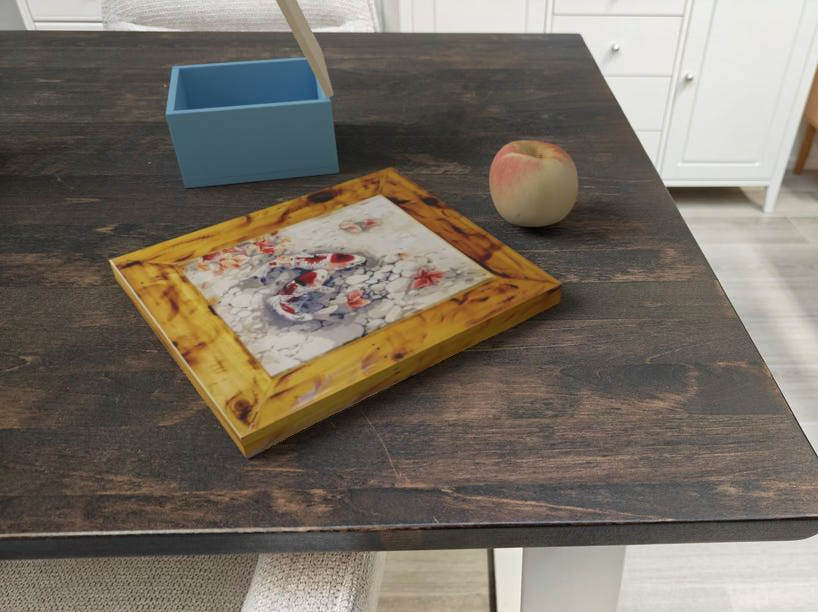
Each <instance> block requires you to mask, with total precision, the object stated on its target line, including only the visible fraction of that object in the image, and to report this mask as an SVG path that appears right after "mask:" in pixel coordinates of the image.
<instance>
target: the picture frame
mask: <svg viewBox="0 0 818 612" xmlns="http://www.w3.org/2000/svg"><path fill="white" fill-rule="evenodd" d="M108 261H109V263H110V267H111V269H112V272H113V275H114V277H115V280H116V282H117V283H118V284H119V286H120V287H121V289H123V291H124V292H125V295H126V296H127V297H128V298H129V299H130V301H131V302H132V304H133V305H134V306H135V308H136V309H137V311H138V312H139V314H141V316H142V318H143V319H144V320H145V322H146V323H147V324H148V326H149V327H150V328H151V330H152V331H153V333H154V334H155V336H157V338H158V339H159V341H160V342H161V344H162V345H163V346H164V347H165V349H166V350H167V352H168V351H169V352H168V353H169V355H170V356H171V357H172V358H173V360H174V361H175V363H176V362H177V363H176V365H178V367H179V366H180V367H179V368H180V370H181V371H182V370H183V371H182V373H183V374H184V375H185V374H186V375H185V376H186V377H188V378H187V379H188V380H189V382H190V381H191V382H190V384H191V385H192V386H193V387H194V389H195V388H196V389H195V390H196V392H197V393H198V394H199V395H200V397H201V398H202V399H203V401H204V402H205V404H206V405H207V406H208V408H209V410H210V411H211V413H213V415H214V417H216V419H217V420H218V422H219V421H220V422H219V423H220V424H221V426H222V427H223V429H224V430H225V431H226V433H227V434H228V435H229V437H230V438H231V440H232V441H233V443H236V444H235V445H236V447H237V448H238V450H240V452H241V453H242V455H243V456H244V458H245V459H246V460H248V459H250V458H252V457H254V456H256V455H259V454H260V453H262V452H264V451H266V450H268V449H270V448H272V447H273V446H272V445H274V446H276V445H278V444H280V443H282V442H284V441H286V440H287V439H286V438H288V437H290V436H292V435H293V434H295V433H297V432H299V431H300V430H303V429H304V428H308V427H309V426H310V425H313V424H314V423H316V422H319V421H320V420H321V419H324V418H327V417H328V416H330V415H332V414H333V413H336V412H339V411H340V410H341V409H344V408H345V407H348V406H349V405H352V404H354V403H356V402H358V401H360V400H362V399H363V398H366V397H368V396H370V395H372V394H374V393H376V392H379V391H380V390H382V389H384V388H386V387H388V386H391V385H393V384H394V383H397V382H399V381H402V380H403V379H405V378H407V377H410V376H412V375H413V374H415V373H418V372H420V371H422V370H425V369H426V368H428V367H430V366H432V365H433V364H437V363H439V362H441V361H442V360H444V359H446V358H448V357H451V356H453V355H455V354H457V353H459V352H461V351H463V350H465V349H467V348H469V347H471V346H473V345H475V344H477V343H479V342H481V341H483V340H485V341H487V340H489V339H491V338H493V337H495V336H497V335H499V334H501V333H503V332H505V331H508V330H509V329H511V328H513V327H515V326H517V325H519V324H522V323H523V322H525V321H527V320H529V319H531V318H533V317H535V316H537V315H539V314H541V313H543V312H545V311H547V310H549V309H551V308H553V307H555V306H557V305H559V304H560V303H561V296H562V288H563V283H562V282H560V281H559V280H558V279H556V278H555V277H553V276H552V275H550V274H549V273H548V272H546V271H544V269H541V268H540V267H539V266H537V265H535V264H534V263H533V262H531V261H530V260H528V259H526V258H525V257H524V256H522V255H521V254H520V253H518V252H516V251H515V250H514V249H513V248H511V247H509V246H508V245H506V244H505V243H503V242H502V241H500V239H497V238H496V237H494V236H493V235H492V234H490V233H489V232H487V231H486V230H484V229H483V228H482V227H480V226H479V225H477V224H476V223H474V222H472V221H471V220H469V219H468V218H467V217H466V216H464V215H462V214H461V213H459V212H458V211H456V210H455V209H453V208H452V207H450V206H449V205H447V204H446V203H445V202H443V201H442V200H440V199H439V198H438V197H436V196H434V195H433V194H431V192H429V191H427V190H425V189H424V188H423V187H422V186H420V185H418V184H417V183H415V182H414V181H412V180H411V179H410V178H408V177H407V176H405V175H404V174H402V173H400V171H398V170H396V169H395V168H394V167H392V166H390V167H387V168H384V169H381V170H378V171H375V172H371V173H369V174H365V175H362V176H360V177H357V178H354V179H350V180H347V181H345V182H341V183H339V184H336V185H332V186H330V187H327V188H323V189H321V190H317V191H314V192H311V193H308V194H305V195H302V196H300V197H296V198H293V199H290V200H287V201H283V202H281V203H278V204H275V205H272V206H268V207H266V208H263V209H259V210H256V211H254V212H250V213H247V214H244V215H241V216H239V217H236V218H233V219H230V220H227V221H223V222H221V223H218V224H214V225H211V226H208V227H205V228H202V229H199V230H196V231H193V232H190V233H187V234H184V235H180V236H178V237H175V238H172V239H170V240H169V239H168V240H166V241H163V242H159V243H156V244H154V245H151V246H147V247H144V248H141V249H137V250H135V251H132V252H129V253H126V254H123V255H120V256H117V257H114V258H111V259H108ZM556 304H557V305H556ZM554 305H555V306H554ZM552 306H553V307H552ZM550 307H551V308H550ZM546 309H547V310H546ZM544 310H545V311H544ZM540 312H541V313H540ZM538 313H539V314H538ZM502 331H503V332H502ZM500 332H501V333H500ZM492 336H493V337H492ZM490 337H491V338H490ZM488 338H489V339H488ZM486 339H487V340H486ZM483 342H484V341H483ZM481 343H482V342H481ZM479 344H480V343H479ZM477 345H478V344H477ZM475 346H476V345H475ZM473 347H474V346H473ZM471 348H472V347H471ZM469 349H470V348H469ZM467 350H468V349H467ZM465 351H466V350H465ZM463 352H464V351H463ZM461 353H462V352H461ZM459 354H460V353H459ZM457 355H458V354H457ZM455 356H456V355H455ZM453 357H454V356H453ZM451 358H452V357H451ZM441 363H442V362H441ZM439 364H440V363H439ZM437 365H438V364H437ZM425 371H426V370H425ZM308 429H309V428H308ZM292 437H293V436H292ZM290 438H291V437H290ZM285 439H286V440H285ZM288 439H289V438H288ZM283 440H284V441H283ZM281 441H282V442H281ZM279 442H280V443H279ZM277 443H278V444H277ZM271 446H272V447H271ZM265 449H266V450H265Z"/></svg>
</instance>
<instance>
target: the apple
mask: <svg viewBox="0 0 818 612" xmlns="http://www.w3.org/2000/svg"><path fill="white" fill-rule="evenodd" d="M488 179H489V180H488V184H489V192H490V195H491V199H492V202H493V205H494V207H495V209H496V211H497V213H498V214H499V215H500V216H501V218H502V219H503V220H505V221H506V222H508V223H509V224H511V225H513V226H517V227H523V228H524V227H525V228H527V227H528V228H539V227H546V226H550V225H553V224H557V223H558V222H560V221H562V220H563V219H565V218H566V217H567V216H568V215H569V214H570V213H571V211H572V209H573V208H574V206H575V203H576V201H577V198H578V193H579V176H578V171H577V167H576V163H575V162H574V160H573V159H572V157H571V156H570V154H569V153H568V152H567V151H565V150H564V149H563V148H561V147H560V146H558V145H556V144H553V143H549V142H545V141H541V140H530V139H529V140H526V139H522V140H515V141H510V142H509V143H506V144H504V146H502V147H501V148H500V149H499V150H498V151H497V153H496V154H495V156H494V157H493V159H492V162H491V165H490V169H489V178H488Z"/></svg>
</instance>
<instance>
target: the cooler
mask: <svg viewBox="0 0 818 612" xmlns="http://www.w3.org/2000/svg"><path fill="white" fill-rule="evenodd" d="M165 118H166V121H167V125H168V129H169V133H170V136H171V137H170V138H171V140H172V143H173V149H174V151H175V155H176V159H177V162H178V166H179V170H180V173H181V178H182V181H183V185H184V188H185V189H192V188H193V189H195V188H202V187H204V188H205V187H212V186H213V187H214V186H224V185H232V184H233V185H234V184H245V183H251V182H253V183H254V182H263V181H272V180H283V179H294V178H303V177H304V178H305V177H314V176H324V175H334V174H340V168H339V167H340V166H339V160H338V149H337V141H336V140H337V139H336V133H335V124H334V116H333V107H332V100H331V97H329V98H327V97H326V95H325V94H324V92H323V90H322V88H321V86H320V84H319V82H318V80H317V78H316V76H315V74H314V72H313V71H312V69H311V67H310V65H309V63H308V61H307V59H306V57H305V56H304V57H291V58H288V57H287V58H276V59H275V58H274V59H261V60H260V59H259V60H246V61H244V60H243V61H232V62H230V61H229V62H217V63H201V64H188V65H187V64H185V65H173V66H172V69H171V74H170V81H169V87H168V95H167V103H166V109H165Z"/></svg>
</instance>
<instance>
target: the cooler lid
mask: <svg viewBox="0 0 818 612" xmlns="http://www.w3.org/2000/svg"><path fill="white" fill-rule="evenodd" d="M275 2H276V4H277V5H278V7H279V10H280V11H281V13H282V15H283V17H284V19H285V21H286V23H287V25H288V26H289V28H290V31H291V32H292V35H293V36H294V38H295V40H296V42H297V44H298V46H299V48H300V49H301V51H302V53H303V55H304V57H306V59H307V61H308V63H309V65H310V67H311V69H312V71H313V72H314V74H315V76H316V78H317V80H318V82H319V84H320V86H321V88H322V90H323V92H324V94H325V95H326V97H327V98H329V97H330V98H331V97H333V96H334V90H333V87H332V83H331V79H330V76H329V71H328V67H327V64H326V61H325V57H324V53H323V50H322V48H321V46H320V44H319V41H318V39H317V38H316V36H315V33H314V32H313V30H312V28H311V26H310V24H309V23H308V20H307V19H306V16H305V14H304V12H303V10H302V8H301V6H300V4H299V3H298V0H275Z"/></svg>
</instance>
